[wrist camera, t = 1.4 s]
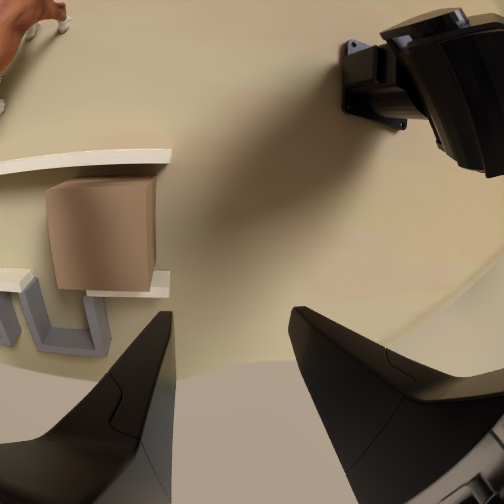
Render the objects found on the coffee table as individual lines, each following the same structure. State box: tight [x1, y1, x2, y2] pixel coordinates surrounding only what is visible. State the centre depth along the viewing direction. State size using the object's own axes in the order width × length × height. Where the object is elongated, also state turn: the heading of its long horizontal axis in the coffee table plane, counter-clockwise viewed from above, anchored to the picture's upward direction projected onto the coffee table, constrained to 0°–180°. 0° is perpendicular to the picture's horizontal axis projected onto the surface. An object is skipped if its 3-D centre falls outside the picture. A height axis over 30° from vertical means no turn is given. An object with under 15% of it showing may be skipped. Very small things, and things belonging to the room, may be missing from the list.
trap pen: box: [0, 149, 172, 358], centre depth 16 cm, size 27×15×3 cm, turn 85°
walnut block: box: [45, 175, 156, 292], centre depth 16 cm, size 6×6×5 cm
